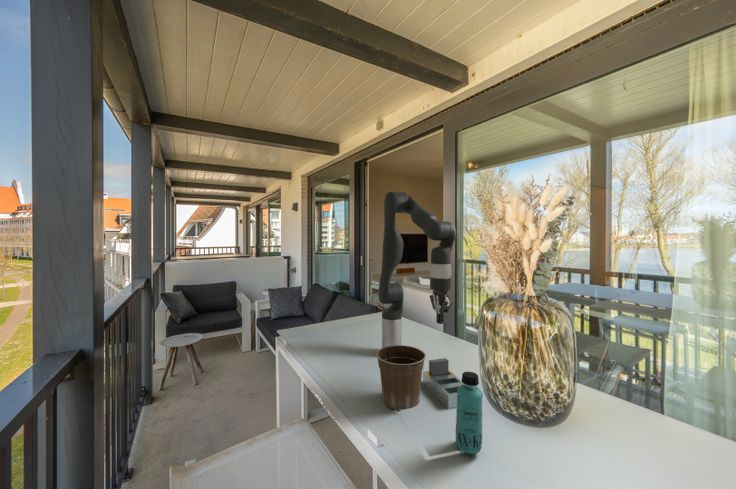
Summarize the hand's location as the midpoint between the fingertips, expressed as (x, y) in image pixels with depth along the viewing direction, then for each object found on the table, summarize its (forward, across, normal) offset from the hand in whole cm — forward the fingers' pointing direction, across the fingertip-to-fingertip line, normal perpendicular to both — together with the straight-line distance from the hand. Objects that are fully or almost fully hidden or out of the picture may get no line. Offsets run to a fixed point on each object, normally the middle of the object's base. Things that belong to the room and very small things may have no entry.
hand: (440, 323), depth 110 cm
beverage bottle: (+23, +32, -9) cm, 41 cm away
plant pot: (+24, +6, -18) cm, 30 cm away
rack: (+23, +6, 0) cm, 24 cm away
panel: (+22, 0, 0) cm, 22 cm away
